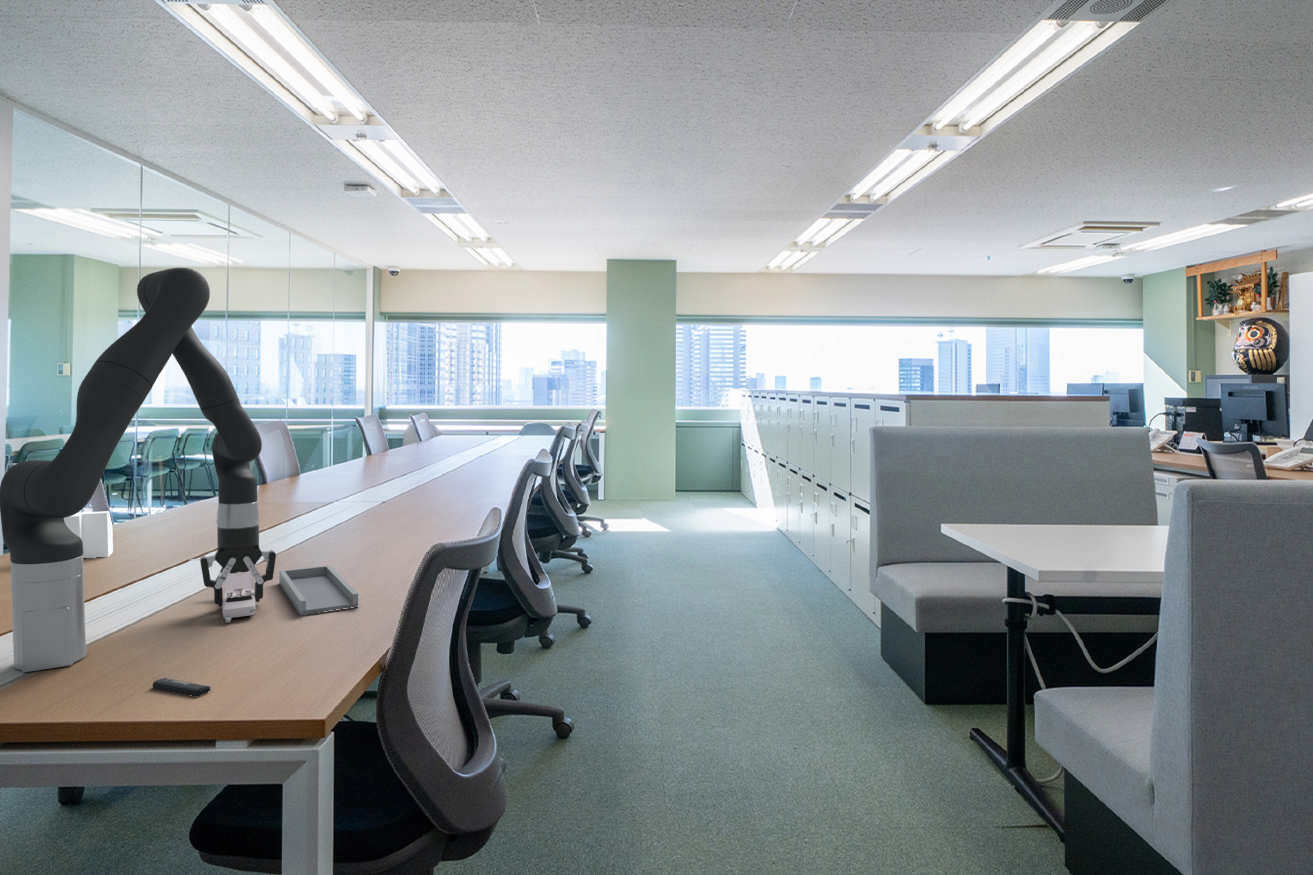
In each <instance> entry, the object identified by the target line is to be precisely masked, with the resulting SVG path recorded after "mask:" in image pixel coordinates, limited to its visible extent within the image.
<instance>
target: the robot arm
mask: <svg viewBox="0 0 1313 875" xmlns="http://www.w3.org/2000/svg"><path fill="white" fill-rule="evenodd" d="M210 290H211V289H210V285H209V283H208V281H207V280H206V277H204V275H203V274H202V273H200V272H199V271H197V270H195V269H193V268H190V267H173V268H167V269H163V270H158V271H155V272H151V273H148V274H146V275H145V276H143V277H142V278H141V279H140V280H139V282H138V284H137V288H136V293H137V294H136V295H137V299H138V301H139V304H140V305H141V308H142V310H143V311H144V315H143V316H142V317H141V318H140V319H139V321H137V323H135V325H133V326H132V327H131V328H129V330H128V331H126V332H125V333H123V335H121V336H120V337H118V338H117V339H116V340H115V341H114V342H112V344H110V345H109V346H108V347H107V348H106V349H105V350H104V351H103V352H102V353H101V354H100V356H99V357H97V358H96V360H95V362H94V363H93V365H92V366H91V367H90V369H89V371H88V372H87V373H86V375H85V376H84V378H83V379H82V381H81V383H80V385H79V387H78V391H77V396H76V412H75V413H76V416H75V417H76V418H75V425H74V427H73V431H72V432H71V434H70V436H69V438H67V440H66V442H65V444H64V445H63V447H61V449H60V450H59V452H58V453H57V455H56V456H55V457H54V458H53V459H52V460H44V459H43V460H42V459H31V460H24V461H23V460H22V461H20V462H17V463H15V464H14V465H12V466H11V467H10V468H8V469H7V471H6V472H5V473H4V475H3V477H2V480H1V481H0V523H1V533H2V534H1V535H2V539H3V542H4V544H5V547H6V548H7V550H8V552H9V557H10V558H9V561H10V577H11V578H10V584H11V585H10V587H11V589H10V590H11V594H10V595H11V619H12V620H11V622H12V644H13V645H12V648H13V649H12V650H13V668H14V669H16V670H19V671H22V673H27V672H35V671H42V670H47V669H48V670H49V669H55V668H61V667H62V668H63V667H68V666H73V664H74V663H76V662H79V661H80V660H83V659H84V658H85V657H86V656H87V652H86V651H87V643H86V641H87V640H86V639H87V638H86V616H85V615H86V613H85V612H86V610H85V608H86V606H85V577H84V576H85V575H84V570H85V569H84V559H83V542H82V540H81V538H80V537H78V536H77V535H76V534H74V533H73V532H72V531H70V529H69V528H68V527H67V526H66V524H65V522H64V518H65V517H70V516H72V515H74V514H76V513H80V512H81V511H82V510H83V509H84V508H85V507H86V506H87V505H88V503H89V502H90V501H91V499H92V497H93V496H94V493H95V492H96V490H97V488H98V486H99V484H100V481H101V479H102V477H103V475H104V472H105V471H106V468H107V466H108V463H109V461H110V459H111V458H112V455H113V453H114V451H115V449H116V447H117V446H118V444H119V442H120V441H121V439H122V438H123V436H124V433H125V432H126V430H128V428H129V425H130V423H131V422H132V420H133V418H134V417H135V415H136V414H137V412H138V410H139V409H140V408H141V407H142V405H143V403H144V401H145V400H146V398H147V396H148V395H149V393H150V392H151V390H152V388H153V386H154V385H155V383H156V381H157V380H158V378H159V376H160V374H161V372H162V371H163V369H164V368H165V367H166V365H167V363H168V361H169V359H170V358H171V356H173V357H174V359H175V360H176V362H177V364H178V365H179V367H180V369H181V371H182V372H183V374H184V376H185V378H186V379H187V380H186V381H187V383H188V384H189V386H190V389H191V391H192V393H193V395H194V398H195V400H196V402H197V404H198V407H199V408H200V411H201V413H202V414H203V416H204V418H205V419H206V420H207V421H208V422H211V423H212V424H213V425H214V427H215V429H216V431H217V433H216V434H215V436H214V438H213V439H212V440H213V441H212V447H211V448H212V449H211V450H212V459H213V463H214V468H215V472H216V473H215V474H216V477H217V480H218V488H217V490H218V492H217V493H218V497H217V498H218V505H217V512H216V514H217V515H216V517H217V518H216V524H217V526H216V528H217V529H216V530H217V532H216V533H217V535H216V536H217V540H216V541H217V551H216V553H215V554H214V555H209V556H205V555H203V556H201V557H200V558H199V561H200V563H199V564H200V569H201V575H202V580H203V585H204V587H205V588H212V589H213V595H214V596H213V600H214V601H213V602H214V603H215V605H217V606H218V607H222V603H223V597H224V591H223V586H224V581H225V579H226V578H227V576H228V574H229V573H231V574H232V573H237V572H248V571H250V572H251V574H252V575H253V579H254V580H255V582H254V594H255V600H256V603H260V600H262V599H263V597H264V584H265V583H266V582H268V581H272V580H273V579H274V572H275V566H276V559H277V558H276V557H277V554H276V551H274V550H272V549H271V550H269V551H268V550H266V551H265V550H264V551H263V550H261V548H260V511H259V505H258V481H257V477H256V476H255V475H254V474H253V473H252V471H251V468H250V467H251V466H250V462H252V461H254V460H255V459H257V458H258V457H259V456H260V454H261V452H262V448H263V441H262V437H261V435H260V432H259V431H258V428H257V426H256V425H255V423H254V422H253V420H252V419H251V418H250V416H249V415H248V413H247V412H246V410H245V409H244V408H243V406H242V404H241V401H240V399H239V395H238V394H237V391H236V390H235V387H234V384H233V382H232V380H231V378H230V376H229V374H228V372H227V371H226V369H225V368H224V367H223V364H221V363H220V362H219V360H217V358H216V357H214V355H213V354H212V353H211V352H210V351H209V350H208V348H206V347H205V345H204V344H203V343H202V342H201V340H200V339H199V337H198V336H197V334H196V332H195V331H194V329H193V325H194V323H196V321H197V320H198V319H199V318H200V316H201V315H202V314H203V313H204V311H205V309H207V307H208V304H209V301H210V295H211V291H210ZM261 557H263V560H264V562H265V563H266V567H265V574H262V575H261V573H260V572H259V571H258V569H257V567H256V566H255V565H256V564H257V563H258V561H259V560H260V559H261ZM215 561H216V563H218V565H219V566H220V567H221V568H220V570H219V572H218V574H217V576H216V578H215V580H213V579H211V575H210V574H211V573H210V568H212V567H213V564H214V562H215Z"/></svg>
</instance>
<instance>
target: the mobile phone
mask: <svg viewBox="0 0 1313 875" xmlns="http://www.w3.org/2000/svg"><path fill="white" fill-rule="evenodd" d="M223 586H224V587H223V588H224V591H223V603H222V606H221V611H222V612H221V613H222V616H223V617H222V618H223V619H224V621H225V623H230V622H231V621H232V619H233V618H241V617H247V616H254V615H255V614H256V609H257V608H256V607H257V602H256V600H255V588H254V577H253V575H252V574H251V572H250V571H248V572H237V573H232V574H231V573H229V574H228V576H227V578H226V579H225V581H224V583H223Z"/></svg>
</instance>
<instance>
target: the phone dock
mask: <svg viewBox="0 0 1313 875" xmlns="http://www.w3.org/2000/svg"><path fill="white" fill-rule="evenodd" d="M278 573H279V576H278V577H279V581H278V582H279V585H280V587H282V588H281V589H282V590H283V591H284V593H285V594H286V596H287V597H288V598H289V601H290V602H291V603H292V605H293V606H294V608H295V610H296V609H297V610H296V611H297V613H298V612H299V613H298V614H299V616H300V617H302V615H304V616H309V615H308V614H311V615H314V614H313V613H318V612H324V611H329V610H336V609H343V608H351V607H357V606H358V607H359V593H358V592H357V591H356V590H355V589H354V588H353V587H352V586H351V585H350V584H349V583H348V582H347V581H346V580H345V579H344V578H343V577H342V576H341V574H339V573H338V572H337V571H336V570H335V569H334V568H333V567H332V566H331V564H329V565H320V566H319V565H318V566H310V567H303V568H301V567H300V568H292V569H282V570H279V571H278ZM318 614H319V613H318Z"/></svg>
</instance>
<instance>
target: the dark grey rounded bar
mask: <svg viewBox="0 0 1313 875" xmlns="http://www.w3.org/2000/svg"><path fill="white" fill-rule="evenodd" d="M152 689H153V690H157V689H158V690H157V691H162V690H164V691H163V692H167V691H169V692H168V693H172V692H175V693H174V694H177V693H181V694H180V695H183V694H186V695H185V696H188V695H192V696H191V697H193V696H199V697H201V696H200V695H202V694H204V693H206V692H208V691H210V692H211V686H209V685H203V684H198V683H193V682H187V681H183V680H177V679H173V678H168V677H163V678H159V679H157V680H154V681H153V682H152ZM206 694H207V693H206ZM204 695H205V694H204ZM202 696H203V695H202Z"/></svg>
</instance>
